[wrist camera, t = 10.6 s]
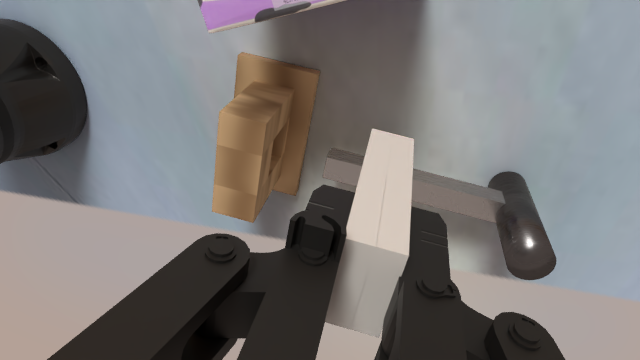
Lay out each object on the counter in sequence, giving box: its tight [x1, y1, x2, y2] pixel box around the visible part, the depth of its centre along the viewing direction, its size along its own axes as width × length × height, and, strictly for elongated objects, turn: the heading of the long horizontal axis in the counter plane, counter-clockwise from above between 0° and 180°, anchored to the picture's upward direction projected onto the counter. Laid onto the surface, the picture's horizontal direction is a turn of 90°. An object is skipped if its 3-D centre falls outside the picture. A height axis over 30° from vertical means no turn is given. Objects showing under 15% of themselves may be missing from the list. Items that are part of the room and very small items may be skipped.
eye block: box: [212, 52, 320, 223], centre depth 44 cm, size 8×14×10 cm, turn 169°
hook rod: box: [323, 148, 556, 280], centre depth 41 cm, size 20×4×12 cm, turn 79°
